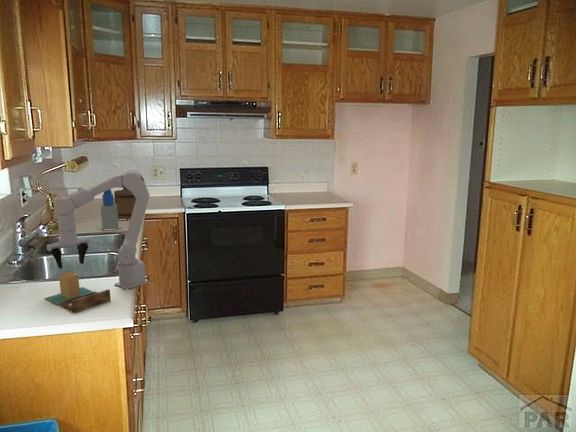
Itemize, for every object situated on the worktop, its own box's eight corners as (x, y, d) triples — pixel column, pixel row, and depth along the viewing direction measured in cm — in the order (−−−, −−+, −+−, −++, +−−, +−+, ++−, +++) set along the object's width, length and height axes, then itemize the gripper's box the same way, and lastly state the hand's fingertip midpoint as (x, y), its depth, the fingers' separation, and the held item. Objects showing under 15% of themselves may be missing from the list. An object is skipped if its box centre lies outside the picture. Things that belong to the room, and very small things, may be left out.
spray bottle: (102, 228, 269) (99, 186, 264) (118, 226, 272) (115, 185, 267) (102, 231, 261) (98, 188, 256) (118, 230, 264) (115, 187, 259)
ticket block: (71, 291, 166) (69, 271, 164) (80, 295, 162) (78, 274, 161) (61, 295, 163) (58, 273, 161) (69, 299, 159) (67, 277, 158)
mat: (82, 288, 171) (82, 287, 171) (96, 293, 165) (95, 292, 165) (44, 299, 160) (44, 298, 160) (57, 305, 154) (57, 304, 154)
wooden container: (143, 218, 298) (141, 185, 293) (122, 221, 287) (120, 187, 282) (132, 215, 307) (129, 183, 303) (111, 218, 296) (108, 185, 292)
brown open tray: (95, 294, 165) (95, 284, 164) (110, 300, 159) (109, 290, 158) (59, 305, 154) (58, 294, 154) (73, 313, 148) (72, 301, 148)
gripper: (49, 235, 157) (53, 272, 160) (91, 228, 167) (95, 263, 170) (43, 231, 162) (47, 268, 165) (84, 225, 172) (87, 259, 175)
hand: (71, 265), depth 168 cm, fingers open, 7 cm apart
